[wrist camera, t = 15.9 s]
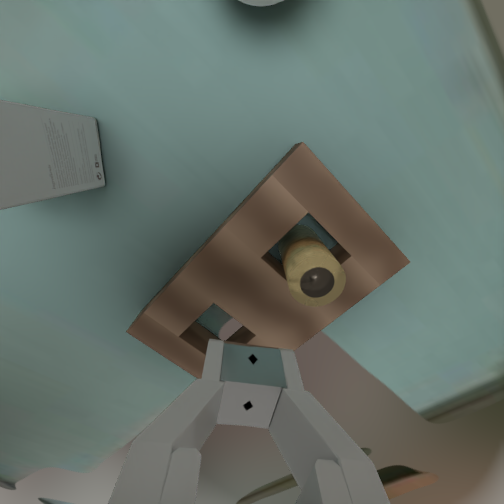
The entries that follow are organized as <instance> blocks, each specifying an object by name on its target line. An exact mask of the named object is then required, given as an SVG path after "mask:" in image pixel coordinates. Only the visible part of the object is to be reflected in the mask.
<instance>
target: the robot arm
mask: <svg viewBox="0 0 504 504" xmlns="http://www.w3.org/2000/svg"><path fill="white" fill-rule="evenodd" d="M216 424H228V425H243V426H251V427H259V428H266V429H269V432H270V434H271V436H272V437H273V439H274V441H275V443H276V445H277V447H278V449H279V451H280V452H281V454H282V456H283V458H284V460H285V462H286V463H287V465H288V467H289V469H290V471H291V473H292V475H293V476H294V478H295V480H296V482H297V484H298V486H299V487H300V489H301V493H300V495H299V497H298V499H297V501H296V503H295V504H390V502H389V499H388V497H387V495H386V492H385V490H384V487H383V485H382V483H381V480H380V478H379V476H378V473H377V471H376V469H375V466H374V464H373V462H372V461H371V460H370V459H369V458H368V456H367V455H366V454H365V453H364V452H363V451H362V450H361V449H360V448H359V446H358V445H357V444H356V443H355V442H354V441H353V440H352V439H351V438H350V436H349V435H348V434H347V433H346V432H345V431H344V430H343V429H342V428H341V426H340V425H339V424H338V423H337V422H336V421H335V420H334V419H333V418H332V416H331V415H330V414H329V413H328V412H327V411H326V410H325V409H324V408H323V407H322V405H321V404H320V403H319V402H318V401H317V400H316V399H315V398H314V396H313V395H312V394H311V393H310V392H309V391H304V387H303V383H302V379H301V376H300V372H299V368H298V364H297V361H296V357H295V353H294V351H293V350H292V349H284V348H274V347H266V346H258V345H249V344H243V343H237V342H230V341H222V340H216V339H209V342H208V347H207V352H206V357H205V362H204V368H203V373H202V378H201V379H196V380H195V381H194V382H193V383H192V384H191V385H190V386H188V387H187V388H186V389H185V390H184V391H183V392H182V393H181V394H180V395H179V396H178V397H177V398H176V399H175V400H174V401H173V402H172V403H171V404H170V405H169V406H168V407H167V408H166V409H165V410H164V411H163V412H162V413H161V414H160V415H159V416H158V417H157V418H156V419H155V420H154V421H153V422H152V423H151V424H150V425H149V426H148V427H147V428H146V429H145V430H144V431H143V432H142V433H141V434H140V435H138V436H137V437H136V438H135V439H134V440H133V442H132V444H131V447H130V449H129V452H128V454H127V457H126V460H125V462H124V465H123V467H122V470H121V472H120V475H119V477H118V480H117V482H116V485H115V487H114V490H113V493H112V495H111V498H110V500H109V503H108V504H195V501H196V492H197V484H198V478H199V471H200V463H201V454H200V453H199V450H200V449H201V447H202V446H203V444H204V443H205V441H206V440H207V438H208V437H209V435H210V433H211V432H212V431H213V429H214V427H215V426H216Z"/></svg>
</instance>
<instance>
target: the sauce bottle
mask: <svg viewBox="0 0 504 504" xmlns="http://www.w3.org/2000/svg"><path fill="white" fill-rule="evenodd" d="M239 1H240V2H242V3H245V4H248V5H252V6H268V5H274V4H276V3H279V2H281V1H284V0H239Z"/></svg>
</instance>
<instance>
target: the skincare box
mask: <svg viewBox="0 0 504 504" xmlns="http://www.w3.org/2000/svg"><path fill="white" fill-rule="evenodd" d="M104 186H105V179H104V172H103V166H102V159H101V150H100V141H99V135H98V127H97V121H96V119H95V118H93V117H88V116H83V115H77V114H72V113H67V112H61V111H56V110H50V109H45V108H40V107H35V106H30V105H25V104H20V103H14V102H9V101H4V100H0V210H2V209H6V208H11V207H15V206H20V205H24V204H29V203H33V202H38V201H42V200H47V199H51V198H56V197H60V196H64V195H68V194H73V193H77V192H82V191H86V190H91V189H95V188H99V187H104Z"/></svg>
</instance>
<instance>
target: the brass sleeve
mask: <svg viewBox="0 0 504 504" xmlns="http://www.w3.org/2000/svg"><path fill="white" fill-rule="evenodd" d="M278 248H279V252H280V256H281V260H282V264H283V267H284V271H285V275H286V279H287V283H288V287H289V290H290V293H291V295H292V296H293V298H294V299H295V300H296V301H298V302H299V303H301V304H303V305H306V306H312V307H317V306H323V305H326V304H329V303H331V302H332V301H334V300H335V299H336V298H337V297H339V295H340V294H341V293H342V291H343V289H344V287H345V283H346V275H345V272H344V269H343V268H342V266H341V265H340V264H339V262H338V261H337V260H336V259H335V257H334V256H333V255H332V254H331V252H330V251H329V250H328V248H327V247H326V246H325V245H324V243H323V242H322V241H321V240H320V238H319V237H318V236H317V235H316V233H315V232H314V231H313V230H312V229H311V228H309V227H307V226H305V225H295V226H294V227H292V228H291V229H290V230H289V231H288V232H287V233H286V234H285V235H284V236H283V237H282V238H281V239H280V240H279V241H278Z"/></svg>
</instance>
